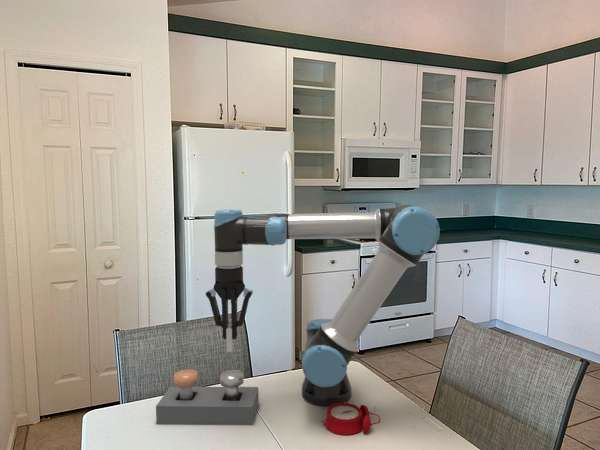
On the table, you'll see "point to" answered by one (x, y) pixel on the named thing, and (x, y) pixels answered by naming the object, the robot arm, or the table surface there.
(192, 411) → the panel
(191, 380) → the terracotta plunger
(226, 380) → the metal plunger
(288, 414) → the table surface
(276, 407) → the table surface
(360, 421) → the alarm clock
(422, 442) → the table surface
